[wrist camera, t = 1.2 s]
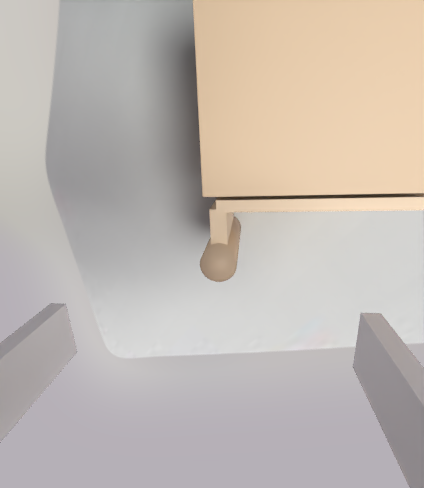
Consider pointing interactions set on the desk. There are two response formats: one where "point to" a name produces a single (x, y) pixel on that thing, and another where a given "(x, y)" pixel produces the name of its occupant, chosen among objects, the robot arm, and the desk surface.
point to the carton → (310, 96)
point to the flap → (228, 227)
